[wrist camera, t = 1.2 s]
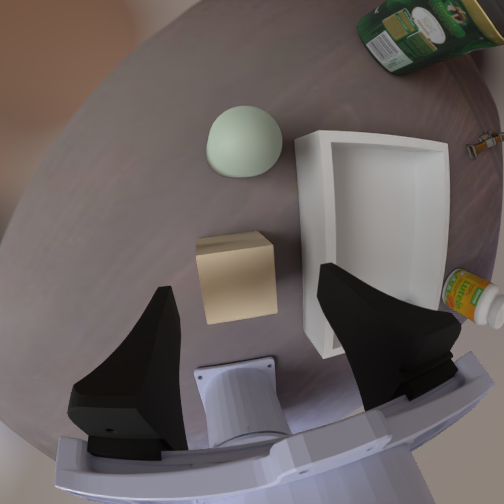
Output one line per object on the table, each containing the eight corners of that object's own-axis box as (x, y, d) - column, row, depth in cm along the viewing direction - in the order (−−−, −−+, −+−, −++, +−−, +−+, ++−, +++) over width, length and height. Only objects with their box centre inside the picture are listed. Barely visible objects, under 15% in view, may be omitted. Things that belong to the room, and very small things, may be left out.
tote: (408, 301, 28) (435, 319, 23) (303, 330, 26) (323, 359, 21) (413, 145, 23) (447, 143, 18) (293, 139, 21) (318, 130, 16)
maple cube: (262, 286, 24) (277, 312, 19) (205, 295, 23) (207, 324, 18) (257, 230, 23) (273, 244, 18) (196, 238, 22) (195, 255, 17)
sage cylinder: (258, 175, 21) (285, 173, 15) (208, 180, 21) (212, 180, 14) (254, 126, 20) (278, 105, 14) (203, 130, 20) (206, 108, 13)
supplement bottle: (447, 267, 28) (503, 294, 19) (466, 267, 29) (517, 290, 20) (436, 306, 30) (487, 338, 20) (456, 303, 31) (503, 331, 21)
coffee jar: (388, 7, 18) (496, -49, 1) (427, 58, 21) (548, 29, 3) (340, 25, 19) (470, -62, 1) (388, 86, 21) (546, 48, 3)
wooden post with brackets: (494, 136, 24) (512, 141, 20) (460, 153, 27) (476, 159, 23) (490, 125, 24) (508, 129, 20) (456, 141, 27) (473, 146, 23)
